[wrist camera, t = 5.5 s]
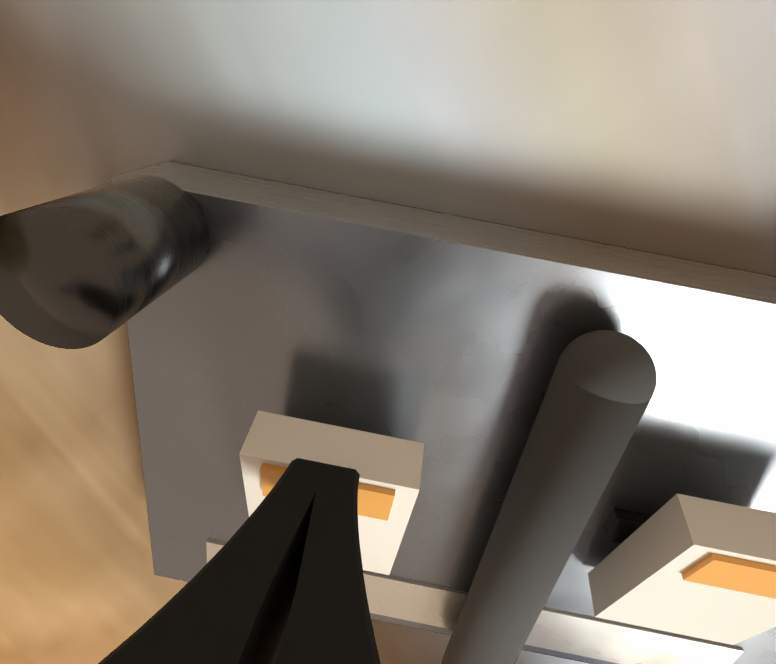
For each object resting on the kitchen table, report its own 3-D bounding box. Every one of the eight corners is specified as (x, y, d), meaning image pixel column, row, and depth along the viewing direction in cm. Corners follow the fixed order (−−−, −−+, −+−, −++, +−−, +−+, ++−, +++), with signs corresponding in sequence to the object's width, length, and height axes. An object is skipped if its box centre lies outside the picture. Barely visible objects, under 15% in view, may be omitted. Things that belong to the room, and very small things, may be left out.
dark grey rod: (489, 664, 17) (495, 729, 15) (435, 652, 17) (434, 716, 16) (650, 324, 11) (691, 370, 9) (564, 307, 11) (587, 349, 9)
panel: (730, 628, 19) (841, 839, 14) (182, 517, 19) (84, 681, 14) (1004, 312, 12) (1429, 484, 7) (161, 151, 13) (-44, 199, 7)
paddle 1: (394, 534, 15) (388, 580, 14) (267, 508, 15) (252, 552, 14) (424, 443, 11) (418, 496, 10) (258, 410, 11) (236, 460, 10)
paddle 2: (718, 599, 14) (735, 650, 13) (587, 573, 14) (595, 622, 14) (847, 527, 11) (884, 589, 10) (677, 493, 11) (696, 551, 10)
